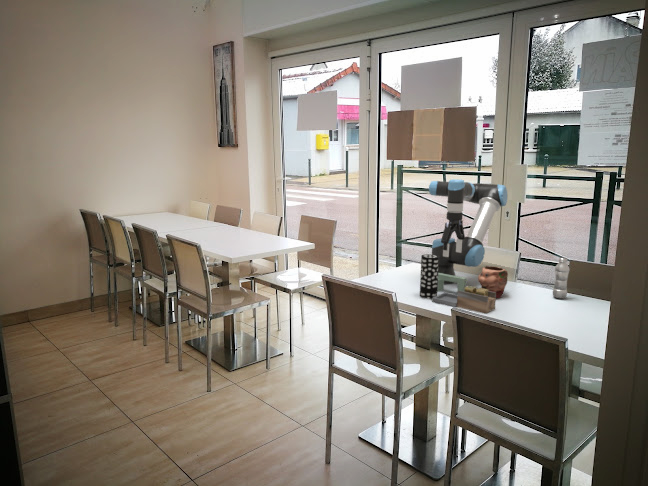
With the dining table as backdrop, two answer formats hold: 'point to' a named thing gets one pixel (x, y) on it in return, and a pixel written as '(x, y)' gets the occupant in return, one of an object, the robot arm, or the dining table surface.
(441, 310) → the dining table surface
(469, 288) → the brass block
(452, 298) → the tray
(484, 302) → the slot ledge
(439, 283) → the mint green arch block
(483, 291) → the yellow rock
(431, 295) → the spotted tube
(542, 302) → the dining table surface
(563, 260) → the plastic bottle
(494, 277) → the decorative planter
